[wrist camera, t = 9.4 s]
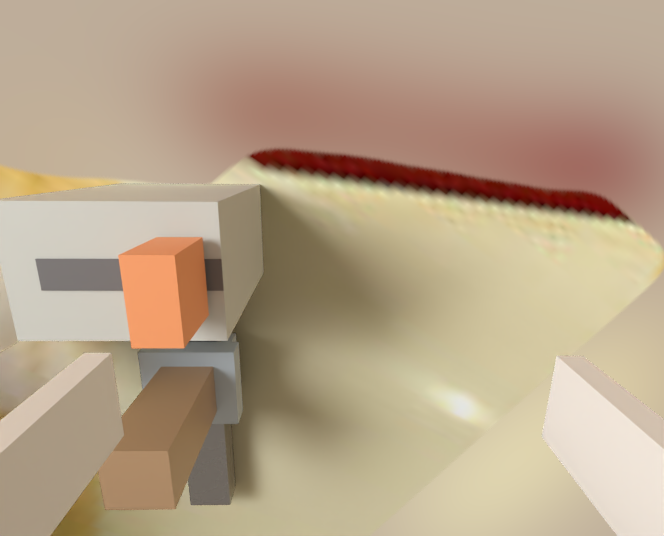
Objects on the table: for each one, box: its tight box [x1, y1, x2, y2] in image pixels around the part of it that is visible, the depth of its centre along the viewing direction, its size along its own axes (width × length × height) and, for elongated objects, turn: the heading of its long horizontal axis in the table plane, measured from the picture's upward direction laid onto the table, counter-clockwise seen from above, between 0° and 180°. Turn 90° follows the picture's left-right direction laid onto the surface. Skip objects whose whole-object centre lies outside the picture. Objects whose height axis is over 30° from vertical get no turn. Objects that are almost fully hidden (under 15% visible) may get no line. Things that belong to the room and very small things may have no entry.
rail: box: [188, 341, 236, 505], centre depth 38 cm, size 4×24×2 cm, turn 0°
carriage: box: [98, 333, 243, 510], centre depth 31 cm, size 8×7×14 cm
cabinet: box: [0, 184, 264, 341], centre depth 28 cm, size 12×8×14 cm
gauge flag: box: [118, 237, 209, 348], centre depth 19 cm, size 2×4×4 cm, turn 0°
